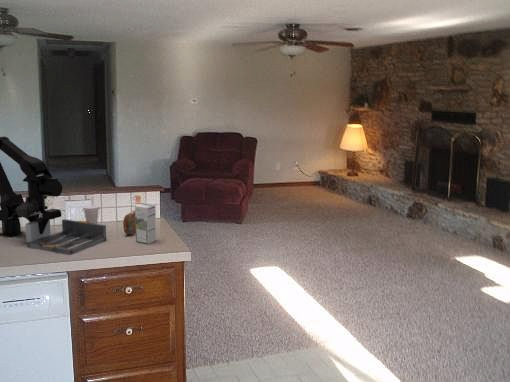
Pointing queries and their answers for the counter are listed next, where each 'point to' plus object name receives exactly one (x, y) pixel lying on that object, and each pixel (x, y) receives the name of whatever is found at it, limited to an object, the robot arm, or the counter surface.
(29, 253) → the counter surface
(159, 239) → the counter surface
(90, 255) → the counter surface
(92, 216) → the smoothie
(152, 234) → the syrup box
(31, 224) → the panel
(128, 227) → the tin
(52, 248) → the rack
